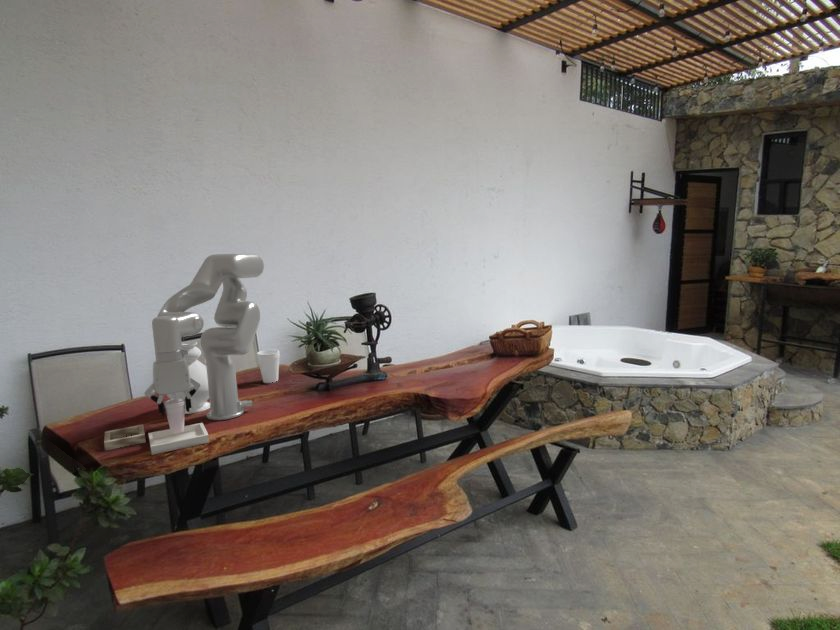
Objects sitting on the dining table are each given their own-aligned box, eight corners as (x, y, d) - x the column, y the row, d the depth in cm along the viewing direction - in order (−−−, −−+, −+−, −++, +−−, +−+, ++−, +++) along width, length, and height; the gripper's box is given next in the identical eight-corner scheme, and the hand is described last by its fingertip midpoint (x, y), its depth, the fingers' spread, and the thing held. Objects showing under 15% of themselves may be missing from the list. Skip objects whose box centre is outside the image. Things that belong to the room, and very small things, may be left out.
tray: (203, 429, 174) (202, 422, 173) (209, 442, 162) (208, 434, 162) (149, 440, 166) (148, 433, 165) (151, 454, 155) (150, 446, 154)
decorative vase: (161, 408, 197) (153, 343, 194) (209, 397, 209) (203, 336, 205) (174, 420, 184) (166, 350, 180) (225, 408, 195) (219, 342, 191)
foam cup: (277, 376, 237) (275, 348, 235) (284, 381, 229) (282, 352, 227) (256, 380, 231) (253, 352, 229) (263, 385, 224) (261, 355, 222)
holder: (144, 431, 174) (143, 424, 173) (145, 442, 164) (144, 434, 164) (105, 439, 168) (104, 431, 168) (105, 450, 159) (104, 442, 159)
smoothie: (192, 427, 167) (187, 384, 165) (183, 434, 160) (179, 390, 158) (171, 428, 166) (167, 385, 164) (162, 435, 160) (157, 391, 158)
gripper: (198, 350, 167) (203, 404, 170) (136, 358, 159) (143, 415, 161) (201, 354, 161) (207, 410, 164) (137, 362, 152) (144, 422, 155)
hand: (175, 412), depth 162 cm, fingers closed on smoothie, 6 cm apart
